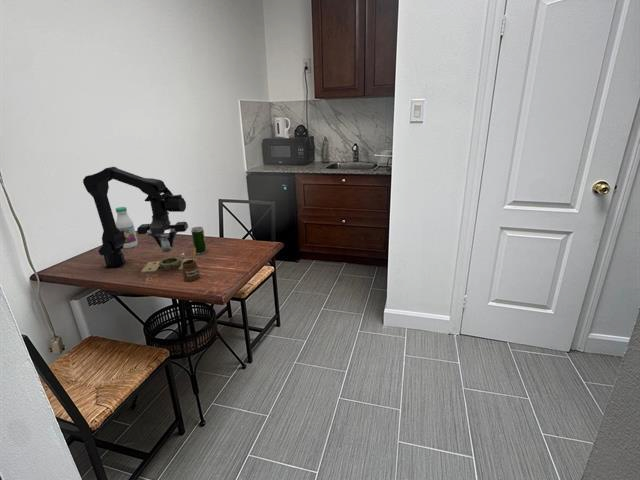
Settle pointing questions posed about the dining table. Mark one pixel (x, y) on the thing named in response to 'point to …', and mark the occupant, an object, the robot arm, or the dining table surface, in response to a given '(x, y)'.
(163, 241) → the steel pin
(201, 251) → the beer can
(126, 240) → the milk bottle
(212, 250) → the dining table surface
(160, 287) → the dining table surface
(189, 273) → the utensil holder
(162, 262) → the octagon ring with plates
